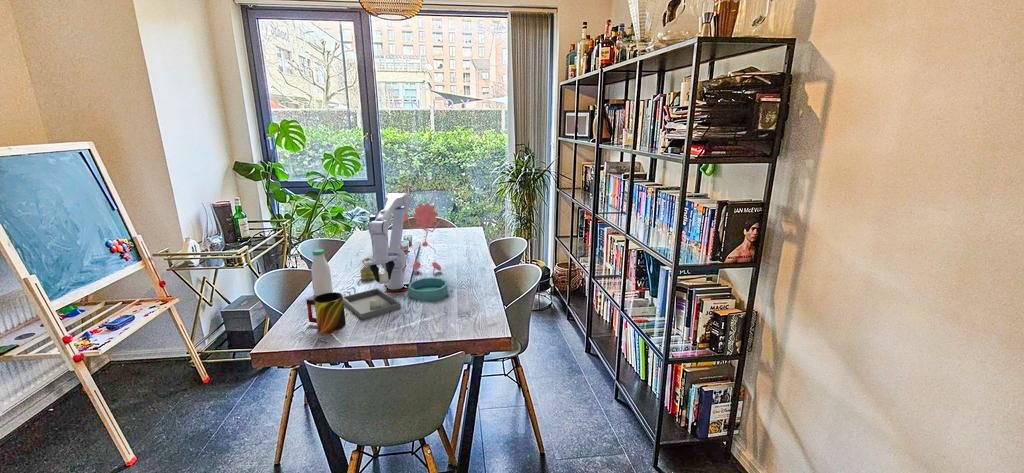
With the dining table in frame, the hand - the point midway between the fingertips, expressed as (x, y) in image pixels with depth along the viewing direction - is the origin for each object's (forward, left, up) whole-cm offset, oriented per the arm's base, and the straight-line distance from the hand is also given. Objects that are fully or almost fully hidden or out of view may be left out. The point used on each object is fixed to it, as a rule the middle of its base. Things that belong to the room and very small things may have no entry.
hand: (383, 280), depth 184 cm
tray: (+4, -8, -9) cm, 12 cm away
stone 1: (+9, -8, -8) cm, 14 cm away
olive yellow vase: (-30, +5, -9) cm, 32 cm away
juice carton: (-61, +25, -9) cm, 67 cm away
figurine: (-21, +33, -9) cm, 41 cm away
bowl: (+7, +17, -9) cm, 21 cm away
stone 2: (0, 0, -1) cm, 1 cm away
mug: (+11, -28, -9) cm, 31 cm away
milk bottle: (-24, -18, -9) cm, 31 cm away
